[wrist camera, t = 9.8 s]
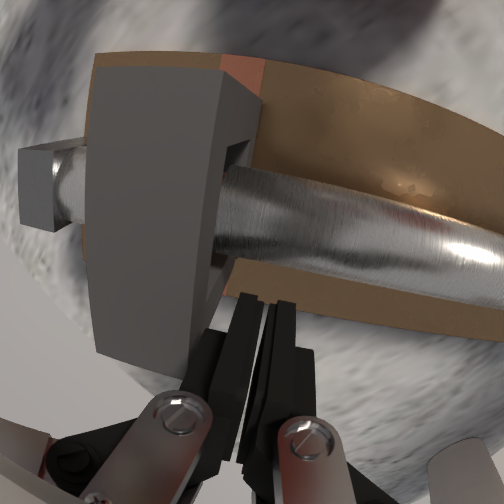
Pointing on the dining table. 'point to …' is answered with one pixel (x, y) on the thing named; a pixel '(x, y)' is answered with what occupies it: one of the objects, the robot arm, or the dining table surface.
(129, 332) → the collar
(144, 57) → the pipe rig
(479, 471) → the coffee cup
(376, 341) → the dining table surface
